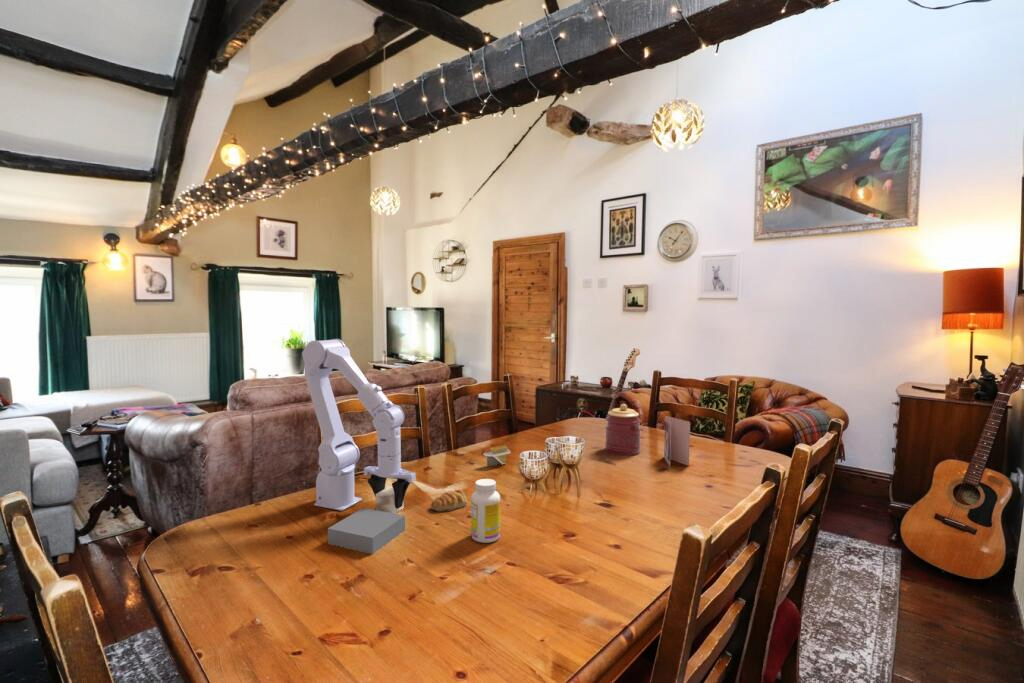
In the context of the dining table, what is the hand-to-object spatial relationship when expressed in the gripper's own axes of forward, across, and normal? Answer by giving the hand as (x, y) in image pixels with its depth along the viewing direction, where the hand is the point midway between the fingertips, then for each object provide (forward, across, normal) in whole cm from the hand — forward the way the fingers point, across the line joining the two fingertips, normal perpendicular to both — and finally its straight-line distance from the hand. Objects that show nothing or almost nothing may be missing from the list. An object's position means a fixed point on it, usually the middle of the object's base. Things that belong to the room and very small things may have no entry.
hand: (389, 505), depth 124 cm
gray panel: (+2, -4, +14) cm, 15 cm away
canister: (+2, -48, -78) cm, 92 cm away
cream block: (+2, 0, 0) cm, 2 cm away
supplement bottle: (+2, -29, +4) cm, 29 cm away
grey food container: (+2, -12, -44) cm, 46 cm away
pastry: (+2, -13, -9) cm, 16 cm away
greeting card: (+2, -67, -71) cm, 98 cm away
